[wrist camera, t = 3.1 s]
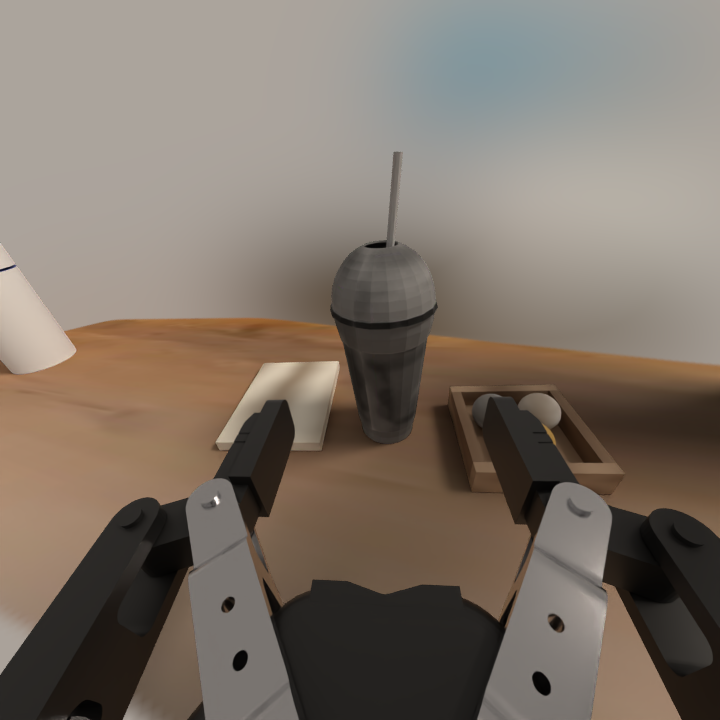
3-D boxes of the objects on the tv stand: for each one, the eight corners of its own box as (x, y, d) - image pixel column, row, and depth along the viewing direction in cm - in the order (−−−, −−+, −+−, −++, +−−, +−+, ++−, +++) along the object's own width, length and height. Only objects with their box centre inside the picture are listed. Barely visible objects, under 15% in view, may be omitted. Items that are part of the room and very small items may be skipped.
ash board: (339, 368, 34) (338, 361, 34) (321, 450, 24) (319, 442, 24) (266, 370, 35) (264, 363, 35) (219, 450, 25) (215, 442, 25)
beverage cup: (337, 410, 28) (297, 162, 17) (404, 389, 30) (406, 153, 19) (364, 470, 22) (329, 152, 11) (445, 439, 24) (482, 141, 13)
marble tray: (547, 403, 27) (559, 371, 25) (611, 494, 19) (635, 459, 17) (447, 404, 28) (451, 374, 26) (471, 491, 20) (479, 458, 18)
